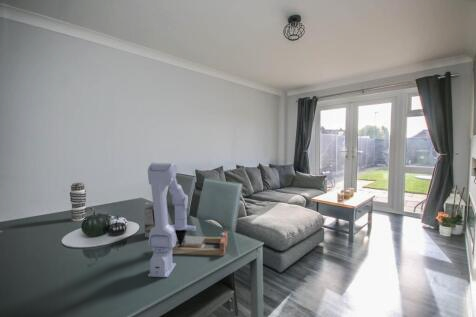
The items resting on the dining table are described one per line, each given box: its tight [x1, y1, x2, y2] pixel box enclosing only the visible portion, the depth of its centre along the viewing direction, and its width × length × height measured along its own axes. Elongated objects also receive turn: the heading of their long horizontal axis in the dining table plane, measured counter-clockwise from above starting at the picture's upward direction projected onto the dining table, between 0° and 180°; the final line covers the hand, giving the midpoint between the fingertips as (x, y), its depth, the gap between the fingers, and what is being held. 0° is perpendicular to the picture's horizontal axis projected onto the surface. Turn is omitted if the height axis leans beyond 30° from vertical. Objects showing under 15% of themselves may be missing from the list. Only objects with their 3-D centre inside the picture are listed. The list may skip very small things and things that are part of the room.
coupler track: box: [172, 230, 229, 257], centre depth 109 cm, size 14×25×6 cm, turn 86°
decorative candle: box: [69, 182, 87, 222], centre depth 151 cm, size 9×9×25 cm
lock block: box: [180, 235, 206, 248], centre depth 110 cm, size 8×10×4 cm
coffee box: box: [144, 204, 155, 238], centre depth 125 cm, size 9×6×16 cm
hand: (181, 244), depth 110 cm, fingers closed
